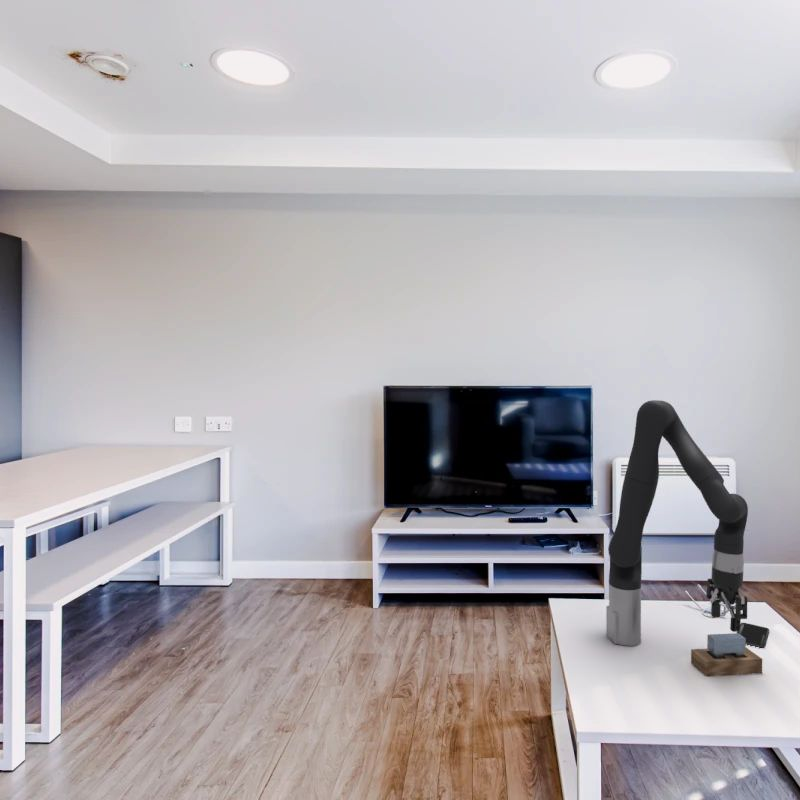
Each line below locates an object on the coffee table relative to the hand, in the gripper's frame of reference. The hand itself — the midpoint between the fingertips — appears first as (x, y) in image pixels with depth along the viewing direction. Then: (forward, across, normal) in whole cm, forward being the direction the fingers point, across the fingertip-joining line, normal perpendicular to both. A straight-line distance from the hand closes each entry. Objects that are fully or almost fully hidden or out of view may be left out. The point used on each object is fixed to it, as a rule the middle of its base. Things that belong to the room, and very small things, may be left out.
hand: (725, 623), depth 156 cm
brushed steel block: (+12, 0, +1) cm, 12 cm away
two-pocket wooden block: (+13, 0, +1) cm, 13 cm away
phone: (+13, -17, +21) cm, 30 cm away
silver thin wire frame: (+13, -38, +20) cm, 45 cm away
